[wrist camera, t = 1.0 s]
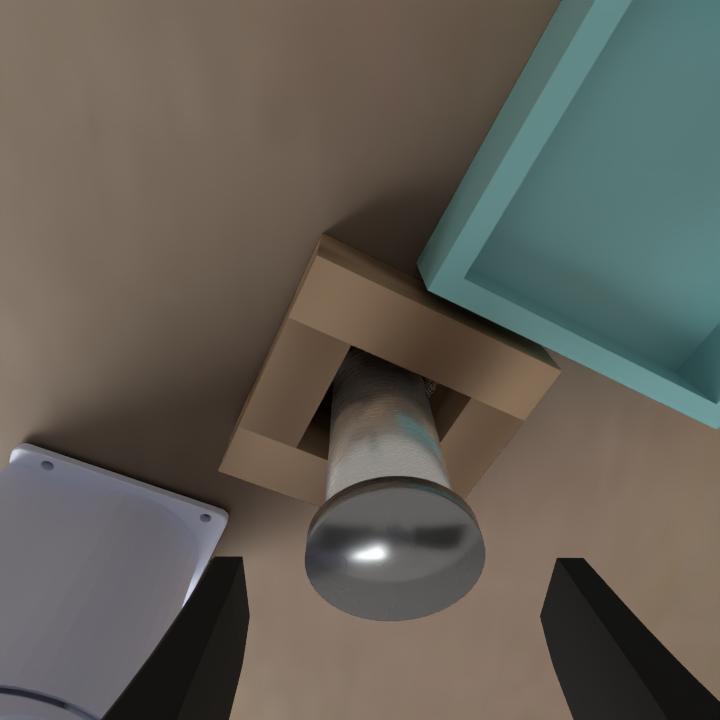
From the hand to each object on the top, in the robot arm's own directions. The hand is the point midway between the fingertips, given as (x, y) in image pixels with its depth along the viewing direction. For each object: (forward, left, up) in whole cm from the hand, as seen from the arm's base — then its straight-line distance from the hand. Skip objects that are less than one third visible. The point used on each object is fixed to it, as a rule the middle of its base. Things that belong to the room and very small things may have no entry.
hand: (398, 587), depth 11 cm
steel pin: (0, 0, -10) cm, 10 cm away
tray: (+5, +11, -10) cm, 15 cm away
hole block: (0, 0, -10) cm, 10 cm away
